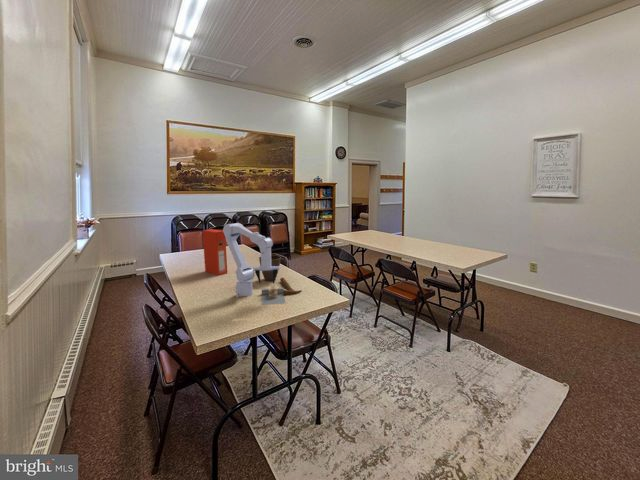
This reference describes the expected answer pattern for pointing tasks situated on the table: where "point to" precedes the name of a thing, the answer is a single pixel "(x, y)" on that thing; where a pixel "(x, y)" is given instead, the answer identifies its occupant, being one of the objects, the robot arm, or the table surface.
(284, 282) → the hammer
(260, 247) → the robot arm
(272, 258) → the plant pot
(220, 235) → the file binder
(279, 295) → the wall board
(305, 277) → the table surface
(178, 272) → the table surface
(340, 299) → the table surface
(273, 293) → the cabinet block
